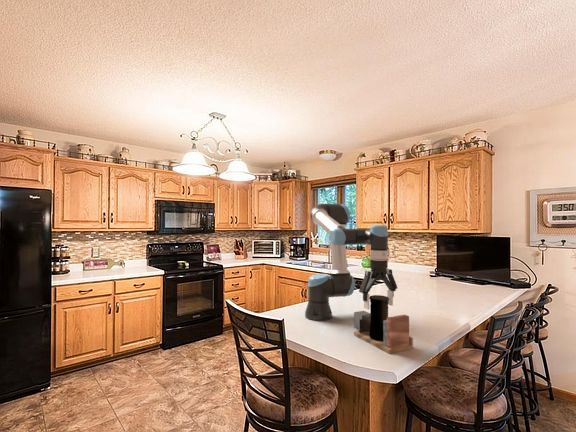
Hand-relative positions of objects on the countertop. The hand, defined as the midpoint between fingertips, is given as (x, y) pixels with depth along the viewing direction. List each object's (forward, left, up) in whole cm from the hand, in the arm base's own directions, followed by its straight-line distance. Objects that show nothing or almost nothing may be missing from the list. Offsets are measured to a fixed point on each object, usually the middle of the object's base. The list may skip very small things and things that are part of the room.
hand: (378, 306), depth 139 cm
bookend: (-11, 0, -13) cm, 17 cm away
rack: (+1, 0, -15) cm, 15 cm away
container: (0, 0, -14) cm, 14 cm away
